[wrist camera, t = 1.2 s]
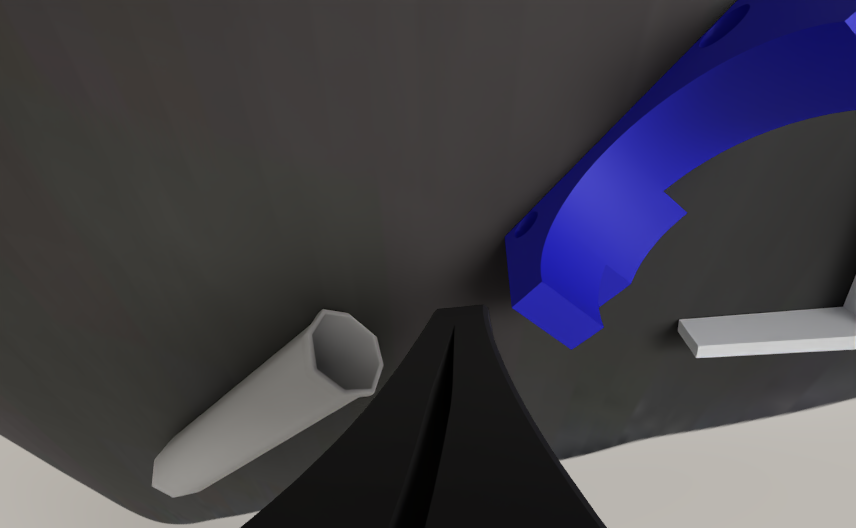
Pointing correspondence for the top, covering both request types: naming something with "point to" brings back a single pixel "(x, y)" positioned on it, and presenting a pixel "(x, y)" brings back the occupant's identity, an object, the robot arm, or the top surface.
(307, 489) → the robot arm
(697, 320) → the bracket
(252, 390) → the tube
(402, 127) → the top surface
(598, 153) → the cable clip
